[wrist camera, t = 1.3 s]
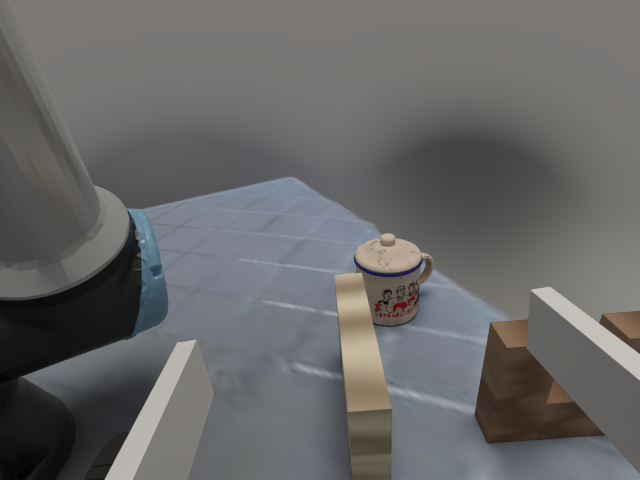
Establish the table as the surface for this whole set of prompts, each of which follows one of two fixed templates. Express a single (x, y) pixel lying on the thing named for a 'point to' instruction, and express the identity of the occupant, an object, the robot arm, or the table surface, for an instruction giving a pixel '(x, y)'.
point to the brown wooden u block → (534, 386)
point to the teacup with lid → (392, 278)
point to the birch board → (363, 383)
